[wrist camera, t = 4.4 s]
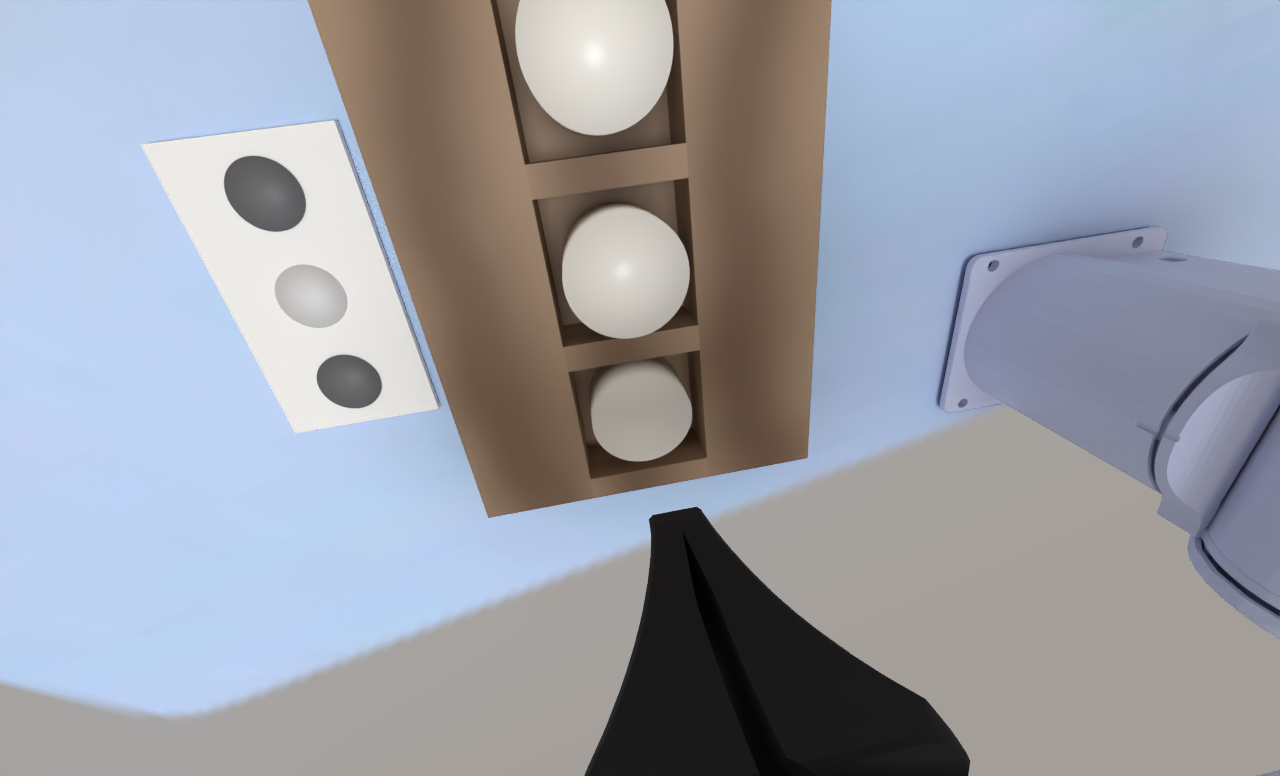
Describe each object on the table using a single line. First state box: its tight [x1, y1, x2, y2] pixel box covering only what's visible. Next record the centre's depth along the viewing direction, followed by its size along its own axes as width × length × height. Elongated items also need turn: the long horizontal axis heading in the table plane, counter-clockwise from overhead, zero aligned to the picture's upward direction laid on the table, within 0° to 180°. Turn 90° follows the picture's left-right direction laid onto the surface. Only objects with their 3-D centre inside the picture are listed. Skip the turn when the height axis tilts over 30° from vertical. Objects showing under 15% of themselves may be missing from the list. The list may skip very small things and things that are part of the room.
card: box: [141, 120, 440, 433], centre depth 18 cm, size 6×11×1 cm, turn 7°
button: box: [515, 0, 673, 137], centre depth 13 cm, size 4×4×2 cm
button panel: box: [308, 0, 832, 518], centre depth 18 cm, size 14×19×3 cm
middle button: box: [562, 202, 690, 339], centre depth 16 cm, size 4×4×2 cm
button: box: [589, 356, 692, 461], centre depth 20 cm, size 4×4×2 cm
